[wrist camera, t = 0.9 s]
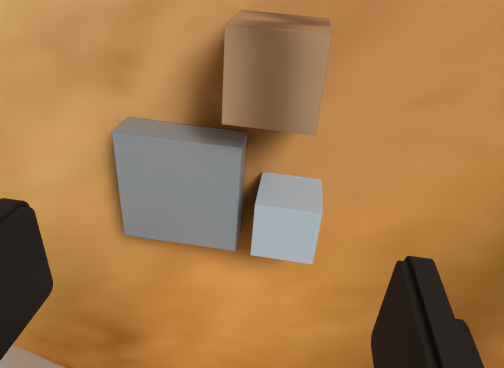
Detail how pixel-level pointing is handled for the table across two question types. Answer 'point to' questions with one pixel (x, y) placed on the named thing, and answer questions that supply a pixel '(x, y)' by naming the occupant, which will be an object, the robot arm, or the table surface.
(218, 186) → the grey rectangular block
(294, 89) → the walnut cube
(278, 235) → the bluegrey block
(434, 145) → the table surface
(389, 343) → the robot arm
